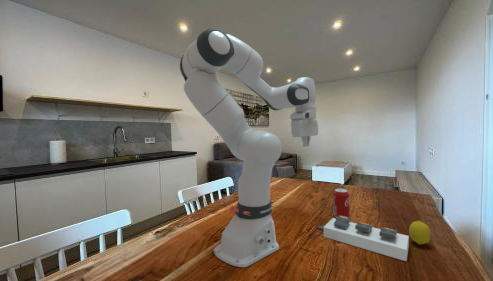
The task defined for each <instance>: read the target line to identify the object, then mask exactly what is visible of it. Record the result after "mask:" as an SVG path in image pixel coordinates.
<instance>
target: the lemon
mask: <svg viewBox="0 0 493 281" xmlns="http://www.w3.org/2000/svg"><path fill="white" fill-rule="evenodd" d="M408 233H409V238H411V240H412V241H414V242H415V243H416V244H418V245H419V246H421V245H424V244H425V245H426V244H427V243H429V242H430V241H431V236H432V235H431V230H430V228H429V226H428V225H427V224H426V223H424V222H423V221H421V220H416V221H412V223H411V224H410V225H409V228H408Z"/></svg>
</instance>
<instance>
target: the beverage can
mask: <svg viewBox="0 0 493 281" xmlns="http://www.w3.org/2000/svg"><path fill="white" fill-rule="evenodd" d="M332 196H333V198H332V200H333V201H332V202H333V205H332V206H333V211H332V212H333V216H334V218H335V219H336V218H337V217H338V216H339V215H341V216H346V217H350V193H349V192H348V190H347V189H345V188H335V189H334V191H333V192H332Z"/></svg>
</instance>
